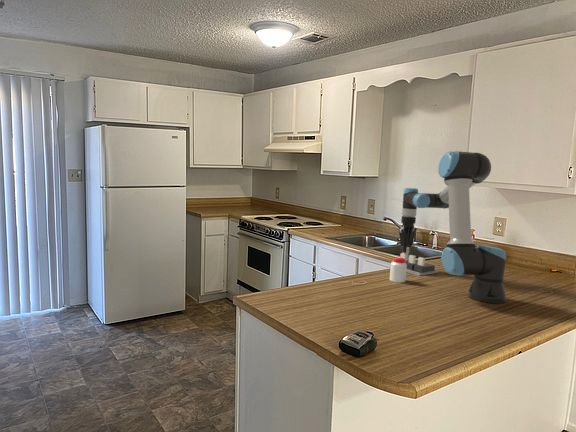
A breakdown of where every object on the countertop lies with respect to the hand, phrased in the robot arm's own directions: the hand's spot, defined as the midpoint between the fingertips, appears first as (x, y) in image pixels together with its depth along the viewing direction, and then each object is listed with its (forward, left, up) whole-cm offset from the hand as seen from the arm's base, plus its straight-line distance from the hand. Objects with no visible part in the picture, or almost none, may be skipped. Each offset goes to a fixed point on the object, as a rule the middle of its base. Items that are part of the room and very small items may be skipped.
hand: (405, 258), depth 243 cm
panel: (-6, -1, -6) cm, 8 cm away
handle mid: (-6, +2, -1) cm, 6 cm away
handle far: (-12, +2, -1) cm, 12 cm away
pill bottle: (-16, +25, -6) cm, 30 cm away
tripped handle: (0, +2, -1) cm, 2 cm away
